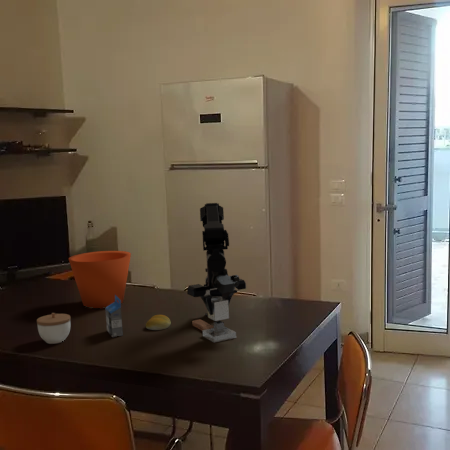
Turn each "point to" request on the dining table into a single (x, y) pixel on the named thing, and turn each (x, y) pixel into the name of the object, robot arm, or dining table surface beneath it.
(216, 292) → the robot arm
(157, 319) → the bread roll
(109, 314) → the grey and blue box
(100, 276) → the flowerpot
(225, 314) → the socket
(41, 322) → the lidded jar
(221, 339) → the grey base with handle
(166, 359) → the dining table surface
